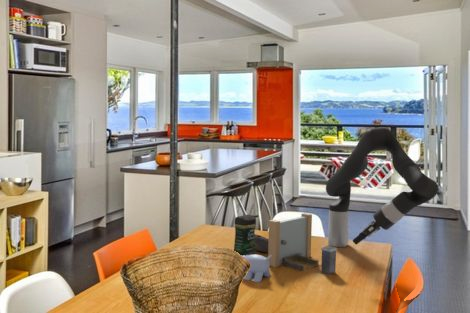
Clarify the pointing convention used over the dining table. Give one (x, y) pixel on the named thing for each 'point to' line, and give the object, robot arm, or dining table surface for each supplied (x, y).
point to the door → (289, 238)
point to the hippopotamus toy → (257, 267)
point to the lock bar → (328, 260)
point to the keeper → (299, 262)
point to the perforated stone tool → (261, 243)
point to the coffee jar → (245, 235)
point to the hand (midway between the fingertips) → (357, 240)
